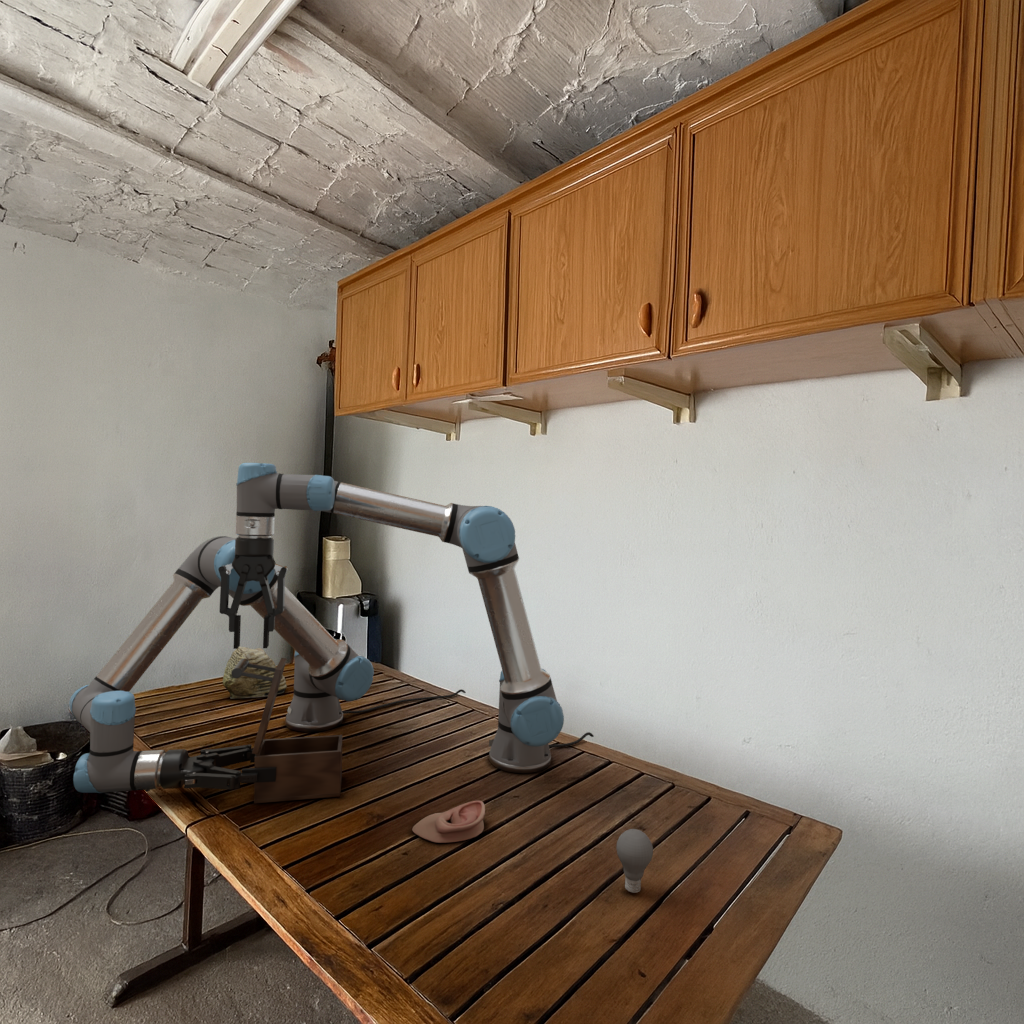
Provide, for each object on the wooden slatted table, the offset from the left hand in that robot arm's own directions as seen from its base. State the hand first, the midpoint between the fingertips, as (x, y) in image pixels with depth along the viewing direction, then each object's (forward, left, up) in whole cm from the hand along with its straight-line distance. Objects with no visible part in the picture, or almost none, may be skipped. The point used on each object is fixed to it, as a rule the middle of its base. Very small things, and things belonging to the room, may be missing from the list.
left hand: (279, 764), depth 135 cm
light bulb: (-21, +73, -6) cm, 76 cm away
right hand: (+5, -4, +25) cm, 26 cm away
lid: (+1, -1, +13) cm, 13 cm away
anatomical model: (-14, +37, -6) cm, 40 cm away
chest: (-4, +3, -6) cm, 7 cm away
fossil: (-30, -63, -6) cm, 70 cm away
